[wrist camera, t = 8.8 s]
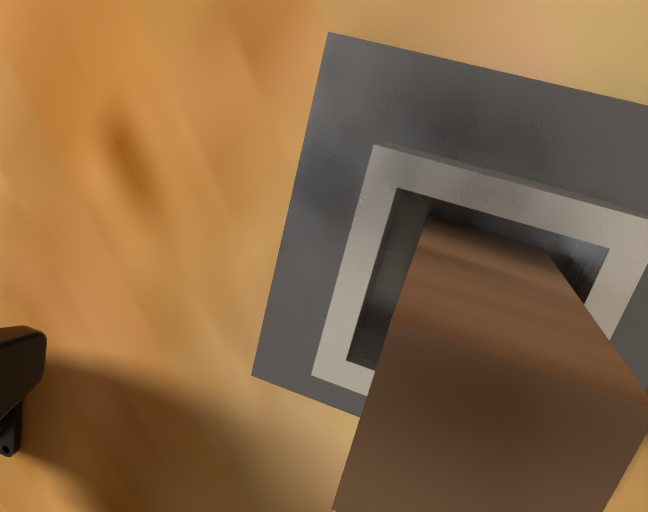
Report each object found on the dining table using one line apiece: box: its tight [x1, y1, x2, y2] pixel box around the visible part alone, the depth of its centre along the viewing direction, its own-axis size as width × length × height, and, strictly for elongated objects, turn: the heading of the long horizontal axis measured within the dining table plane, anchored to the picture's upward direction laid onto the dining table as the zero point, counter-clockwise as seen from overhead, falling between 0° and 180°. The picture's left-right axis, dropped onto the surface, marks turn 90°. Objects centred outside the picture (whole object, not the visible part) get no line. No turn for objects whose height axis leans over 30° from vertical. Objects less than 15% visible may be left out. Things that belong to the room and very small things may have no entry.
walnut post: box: [332, 214, 648, 512], centre depth 12 cm, size 4×4×10 cm
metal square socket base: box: [251, 32, 648, 417], centre depth 16 cm, size 14×14×4 cm
